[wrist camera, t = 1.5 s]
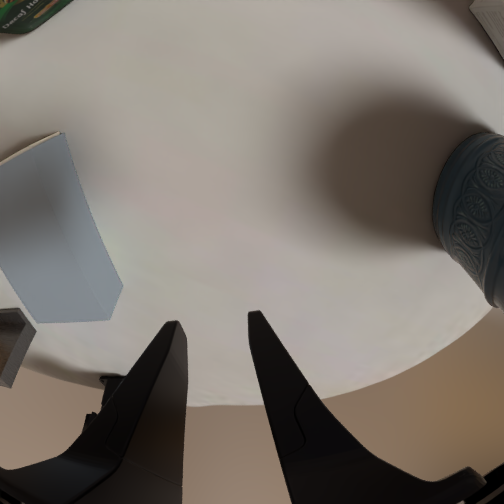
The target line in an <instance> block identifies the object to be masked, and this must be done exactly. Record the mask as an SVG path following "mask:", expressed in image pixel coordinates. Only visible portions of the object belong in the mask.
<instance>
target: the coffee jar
mask: <svg viewBox="0 0 504 504" xmlns="http://www.w3.org/2000/svg"><path fill="white" fill-rule="evenodd" d="M71 1H73V0H0V33H9V34H24V33H27V32H29V31H31V30H33V29H35V28H36V27H38V26H39V25H41V24H42V23H44V22H45V21H46V20H48V19H49V18H50V17H52V16H53V15H54V14H56V13H57V12H58V11H60V10H61V9H62V8H63V7H65V6H66V5H67V4H69V3H70V2H71Z"/></svg>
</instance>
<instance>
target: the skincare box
mask: <svg viewBox="0 0 504 504" xmlns="http://www.w3.org/2000/svg"><path fill="white" fill-rule="evenodd" d="M469 9H470V10H471V12H472V13H473V14H474V16H475V17H476V18H477V20H478V21H479V22H480V24H481V25H482V26H483V28H484V29H485V31H486V32H487V34H488V35H489V37H490V38H491V40H492V41H493V43H494V44H495V46H496V48H497V49H498V51H499V53H500V54H501V56H502V58H503V59H504V0H474V2H473V3H472V4H471V6H470V7H469Z"/></svg>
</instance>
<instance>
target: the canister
mask: <svg viewBox="0 0 504 504" xmlns="http://www.w3.org/2000/svg"><path fill="white" fill-rule="evenodd" d="M433 223H434V228H435V231H436V234H437V236H438V238H439V240H440V241H441V243H442V246H443V247H444V249H445V251H446V252H447V253H448V254H449V255H450V256H451V258H452V259H453V260H454V261H456V262H457V263H459V264H460V265H461V266H462V267H463V268H464V270H465V271H466V272H467V273H468V274H469V276H470V277H471V278H472V279H473V280H474V282H475V283H476V284H477V285H478V287H479V288H480V289H481V290H482V292H483V293H484V296H485V299H486V301H487V302H488V303H489V304H490V305H491V306H493V307H495V308H500V309H501V310H502V312H503V313H504V136H503V135H500V134H491V133H478V134H475V135H473V136H471V137H469V138H467V139H466V140H465V141H463V142H462V143H461V144H460V145H459V146H458V147H457V148H456V150H455V151H454V152H453V153H452V155H451V156H450V158H449V159H448V161H447V163H446V165H445V166H444V169H443V171H442V173H441V175H440V178H439V181H438V184H437V187H436V191H435V196H434V202H433Z"/></svg>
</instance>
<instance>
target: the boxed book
mask: <svg viewBox="0 0 504 504" xmlns="http://www.w3.org/2000/svg"><path fill="white" fill-rule="evenodd" d="M0 267H1V269H2V271H3V273H4V274H5V276H6V278H7V279H8V281H9V283H10V284H11V286H12V288H13V289H14V291H15V292H16V294H17V295H18V297H19V298H20V300H21V301H22V303H23V304H24V306H25V307H26V309H27V310H28V312H29V313H30V315H31V316H32V317H33V319H34V320H35V321H36V323H65V322H87V321H104V320H110V319H111V316H112V313H113V311H114V308H115V305H116V303H117V300H118V298H119V295H120V293H121V290H122V288H123V284H122V282H121V280H120V278H119V276H118V274H117V271H116V269H115V267H114V265H113V263H112V261H111V259H110V257H109V254H108V252H107V250H106V248H105V245H104V243H103V241H102V239H101V236H100V234H99V231H98V229H97V227H96V224H95V222H94V219H93V217H92V214H91V212H90V209H89V207H88V204H87V201H86V199H85V196H84V193H83V190H82V188H81V185H80V182H79V179H78V176H77V173H76V170H75V167H74V164H73V161H72V157H71V154H70V151H69V147H68V144H67V140H66V137H65V133H62V134H60V133H59V132H57V133H54V134H52V135H50V136H48V137H46V138H44V139H41V140H39V141H37V142H35V143H33V144H31V145H29V146H27V147H26V148H24V149H22V150H20V151H18V152H16V153H15V154H13V155H11V156H10V157H8V158H6V159H4V160H3V161H1V162H0Z"/></svg>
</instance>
